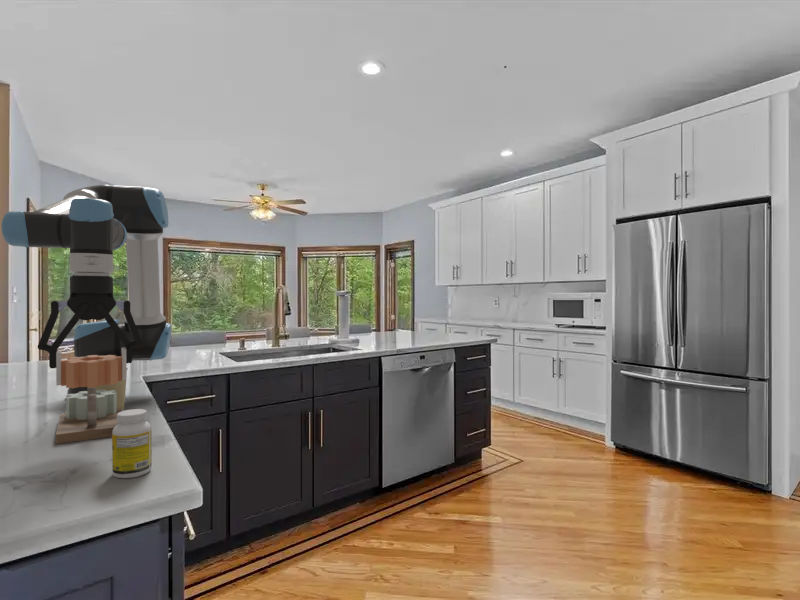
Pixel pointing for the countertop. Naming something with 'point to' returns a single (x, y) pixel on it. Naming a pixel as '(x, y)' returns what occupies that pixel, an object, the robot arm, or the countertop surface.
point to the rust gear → (91, 371)
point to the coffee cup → (117, 391)
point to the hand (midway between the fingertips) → (92, 381)
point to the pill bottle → (131, 444)
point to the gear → (78, 404)
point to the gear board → (86, 423)
